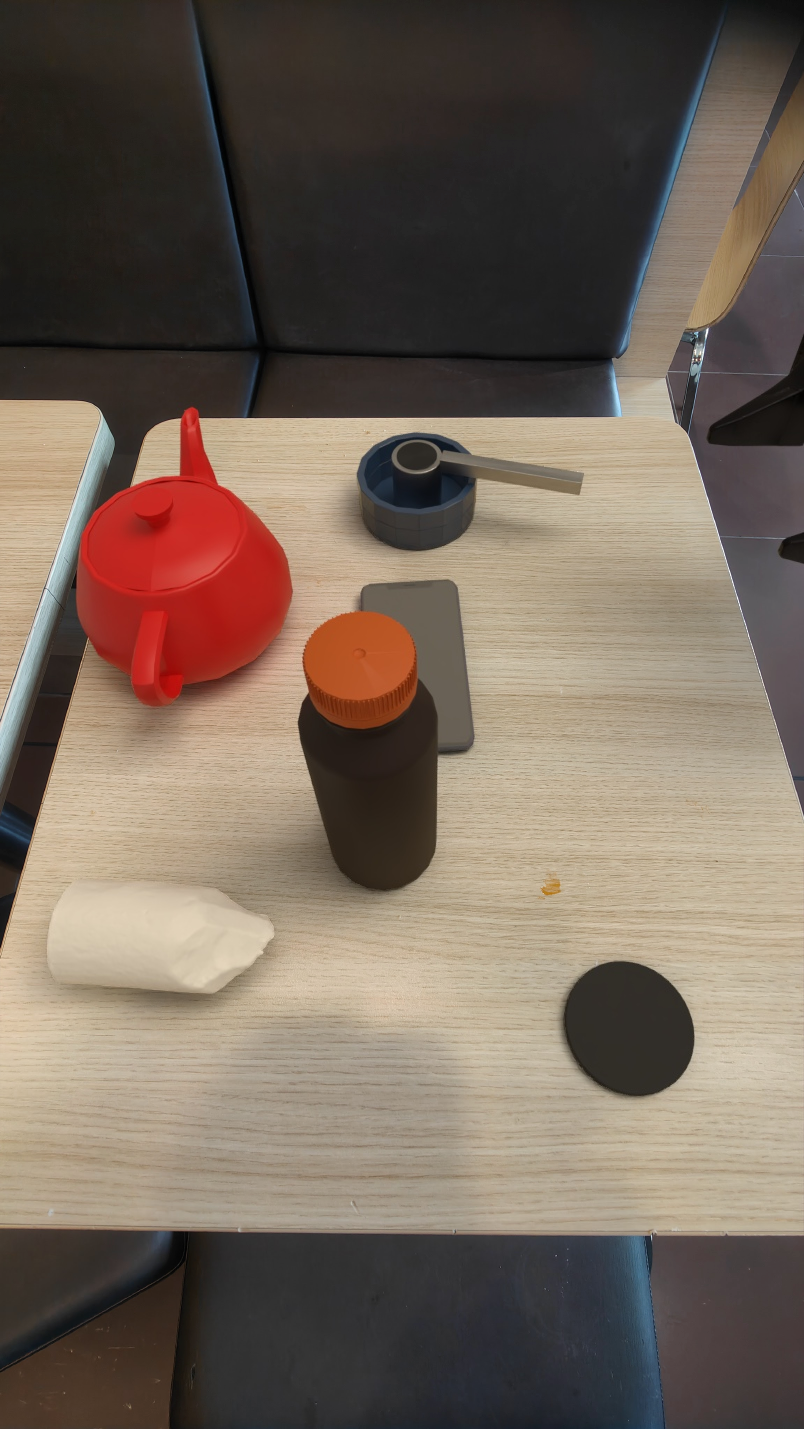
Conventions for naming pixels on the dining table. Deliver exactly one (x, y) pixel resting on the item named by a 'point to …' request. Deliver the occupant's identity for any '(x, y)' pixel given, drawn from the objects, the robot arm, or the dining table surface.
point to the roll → (152, 936)
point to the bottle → (371, 748)
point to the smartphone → (432, 648)
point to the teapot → (180, 578)
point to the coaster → (629, 1028)
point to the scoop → (464, 473)
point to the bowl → (408, 523)
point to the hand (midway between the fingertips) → (742, 488)
